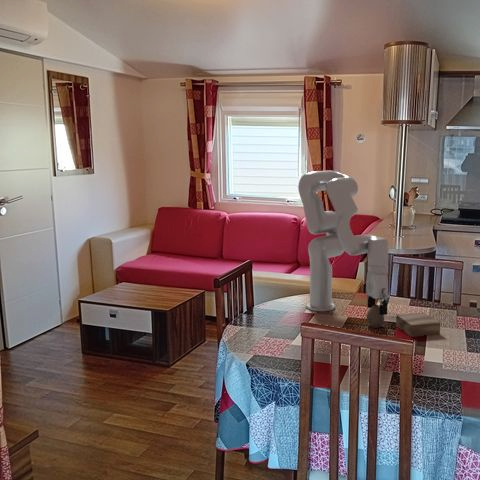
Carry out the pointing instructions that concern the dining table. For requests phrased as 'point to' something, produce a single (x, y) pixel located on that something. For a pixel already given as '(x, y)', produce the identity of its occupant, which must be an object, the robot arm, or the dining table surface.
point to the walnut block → (418, 324)
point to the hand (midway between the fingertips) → (377, 310)
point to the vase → (374, 317)
